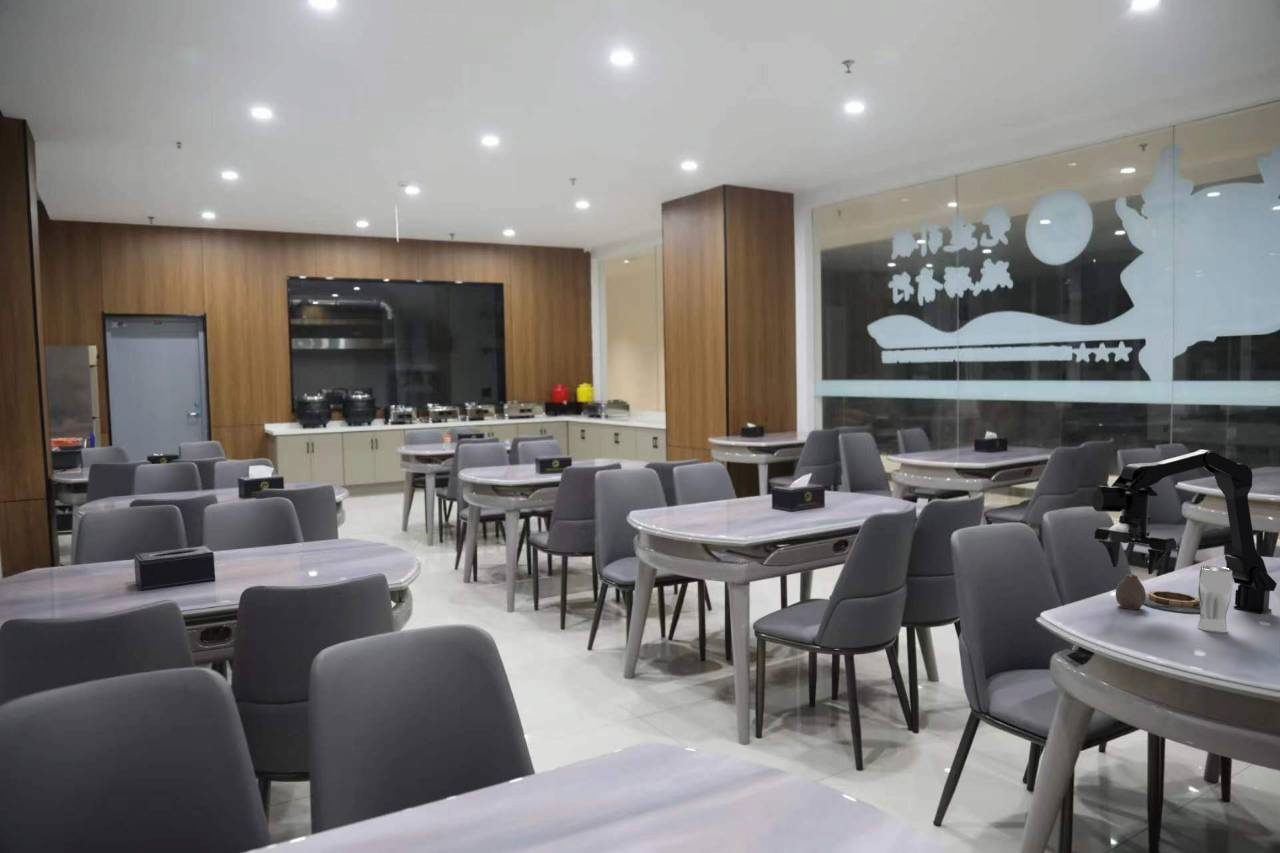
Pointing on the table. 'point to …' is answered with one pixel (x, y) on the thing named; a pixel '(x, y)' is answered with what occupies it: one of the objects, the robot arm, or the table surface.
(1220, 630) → the beer glass
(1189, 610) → the wooden ring on tray
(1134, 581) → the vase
